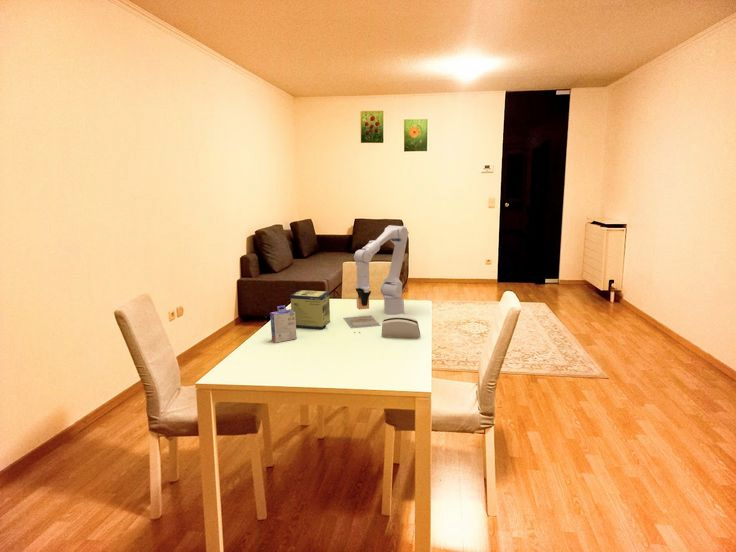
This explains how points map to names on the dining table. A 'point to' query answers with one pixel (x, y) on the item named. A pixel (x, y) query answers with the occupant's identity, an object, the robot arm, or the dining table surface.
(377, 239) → the robot arm
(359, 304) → the module
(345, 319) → the mount board
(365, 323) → the rail
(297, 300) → the protein box
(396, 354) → the dining table surface
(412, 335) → the beige rounded block
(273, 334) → the ink cartridge box
